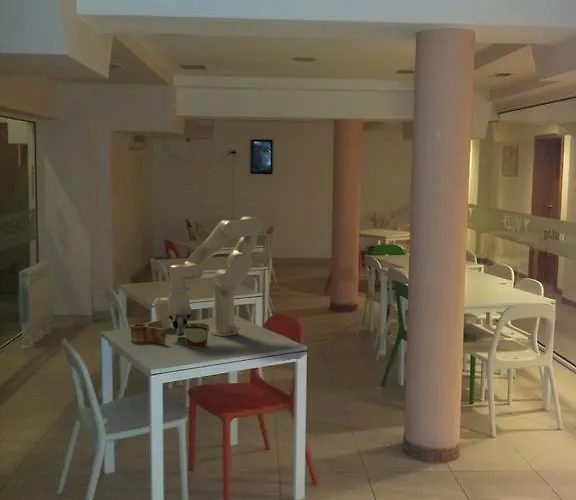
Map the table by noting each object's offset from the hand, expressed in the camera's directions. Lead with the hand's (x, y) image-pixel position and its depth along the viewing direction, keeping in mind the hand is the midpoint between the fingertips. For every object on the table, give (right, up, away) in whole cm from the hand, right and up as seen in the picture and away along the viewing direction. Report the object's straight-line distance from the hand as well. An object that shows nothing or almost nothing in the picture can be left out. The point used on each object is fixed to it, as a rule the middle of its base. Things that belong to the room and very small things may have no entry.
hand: (180, 328), depth 345 cm
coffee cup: (-12, -2, +22) cm, 25 cm away
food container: (+11, -7, -15) cm, 20 cm away
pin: (0, -3, 0) cm, 3 cm away
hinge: (-11, -5, -2) cm, 12 cm away
